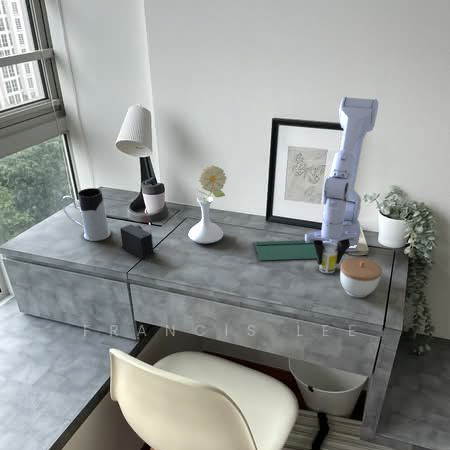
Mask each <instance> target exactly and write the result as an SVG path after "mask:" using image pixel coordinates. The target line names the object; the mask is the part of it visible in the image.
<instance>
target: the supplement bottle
mask: <svg viewBox="0 0 450 450" xmlns="http://www.w3.org/2000/svg"><path fill="white" fill-rule="evenodd" d="M322 243H323V242H322ZM323 246H324V249H323V252H322V261H321V265H319V266H318V269H319V271H320V272H321V273H324V274H334V273H335V272H336V269H337V263H336V262H337V255H338V251H337V244H336V243H331V242H330V241H327V242H324V243H323Z"/></svg>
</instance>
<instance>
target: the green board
mask: <svg viewBox="0 0 450 450" xmlns="http://www.w3.org/2000/svg"><path fill="white" fill-rule="evenodd" d="M254 244H255V249H256V253H257V257H258V261H259V262H269V261H270V262H271V261H272V262H273V261H297V260H298V261H299V260H317V255H316V250H315V247H314V244H313V241H311V242H310V243H306V241H305V239H304V240H303V239H301V240H278V241H277V240H276V241H274V240H273V241H272V240H271V241H255V242H254Z"/></svg>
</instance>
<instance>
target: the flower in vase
mask: <svg viewBox="0 0 450 450" xmlns="http://www.w3.org/2000/svg"><path fill="white" fill-rule="evenodd" d="M224 171H225V170H224V169H223V168H222V167H219V166H216V165H211V166H207V167H206V168H204V169H202V171H201V173H200V177H199V178H198V179H199V180H198V182H199V183H200V186H201V188H202V190H204V191H206V192H209V194H207V193H205V192H204V191H201V190H199V189H197V192H199V193H201V194H203V195H205V196H203V195H202V196H199V197H197V198H196V201H197V202H198V204H199V206H200V209H201V220H200V221H199V222H198V223H197V224H195V225H194V226H193V227H192V228H191V229H189V232H188V237H189V238H190V240H192V241H193V242H195V243H199V244H212V243H216V242H218V241H220V240H221V239H222V238H223V237H224V231H223V229H222V228H221V227H220V226H218V225H217V224H216V223H214V222H212V221H211V219H210V207H211V204H212V203H213V201H214V199H213V197H211V194H213V196H214V197H215V198H222V197H225V196H226V194H225V193H224V192H223V190H222V189H224V187H225V185H226V181H227V178H228V177H227V176H226V173H225V172H224Z"/></svg>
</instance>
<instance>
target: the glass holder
mask: <svg viewBox="0 0 450 450" xmlns="http://www.w3.org/2000/svg"><path fill="white" fill-rule="evenodd" d="M77 196H78V202H79V206H77V203H76V200H75V199H74V198H73V197H72V196H70V195H65V196H63V197H62V198H61V201H60V203H61V204H60V205H61V208H62V210H63V212H64V214H65V215H66V216H67V217H68V218H69V220H71V221H73V222H74V223H76V224H77V225H78V226H80V227H81V228H82V229H83V231H84V234H83V238H84V239H85V240H87V241H90V242H99V241H103V240H106V239H108V238H109V237H110V236H111V231H110V229H109V225H108V218H107V217H108V216H107V212H106V205H105V200H104V196H103V190H101V189H100V188H96V187H89V188H84V189H81V190H79V191H78V192H77ZM65 198H69V199H70V200H71V201H72V202H73V205H74V208H75V209H76V210H80V211H79V212H80V215H81V216H80V217H81V222H82V224H81V223H80V222H79V221H77V220H76V219H74V218H73V217H71V215H69V213H68V212H67V211H66V208H65V206H64V201H63V200H64V199H65Z"/></svg>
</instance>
